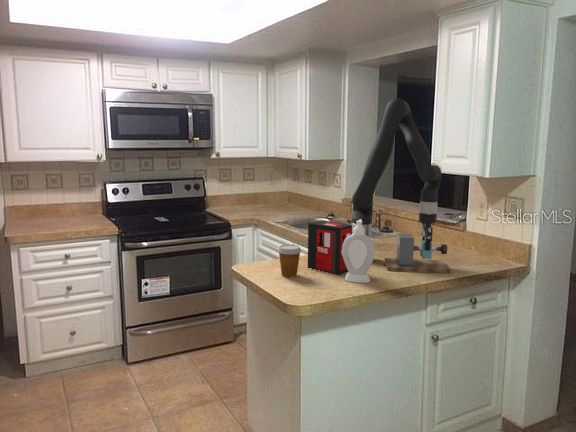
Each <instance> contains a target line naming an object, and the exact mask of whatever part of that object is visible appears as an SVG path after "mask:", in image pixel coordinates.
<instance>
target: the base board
mask: <svg viewBox="0 0 576 432" xmlns="http://www.w3.org/2000/svg"><path fill="white" fill-rule="evenodd" d="M384 263H385V267H386V271H390V272H409V273H410V272H414V273H415V272H416V273H417V272H418V273H434V274H435V273H437V274H439V273H440V274H441V273H442V274H450V273H451V269H450V268H449V266H448V265H447V264H446V262H445V261H444V260H443V259H422V258H421V259H420V258H419V259H418V258H413V266H399V265H398V263H397V260H396V258H395V257H393V258H392V257H391V258H390V257H385V258H384Z"/></svg>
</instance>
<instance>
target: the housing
mask: <svg viewBox="0 0 576 432" xmlns="http://www.w3.org/2000/svg"><path fill="white" fill-rule="evenodd" d="M396 237H397V239H396V240H397V241H396V260H397V263H398V265H399V266H413V259H414V251H415V250H414V246H415V237H414V235H413V233H407V232H406V233H404V232H403V233H402V232H398V233H397V236H396Z"/></svg>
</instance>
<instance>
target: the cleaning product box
mask: <svg viewBox="0 0 576 432" xmlns="http://www.w3.org/2000/svg"><path fill="white" fill-rule="evenodd" d="M349 235H352V224H347V223H341V222H340V223H339V222H333V221H325V220H316V221H312V222H308V229H307V236H308V237H307V269H309V268H312V269H311V270H313V269H316V270H315V271H318V270H320V271H319V272H322V271H324V272H323V273H326V272H328V273H327V274H331V273H332V275H335V274H336V275H335V276H341V274H342V275H344V274H347V273H348V269H347V267H346V264H345V262H344V259H343V255H342V246H343V243H344V240H345V239H346V238H347V237H348V236H349ZM346 272H347V273H346Z"/></svg>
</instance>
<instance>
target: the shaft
mask: <svg viewBox="0 0 576 432" xmlns="http://www.w3.org/2000/svg"><path fill="white" fill-rule="evenodd" d="M414 251H419V252H420V251H422V246H421V245H414ZM432 252H440V254H441V255H447V254H448V244H447V243H446V244H445V243H441V244H440V246H433V245H432Z"/></svg>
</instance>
